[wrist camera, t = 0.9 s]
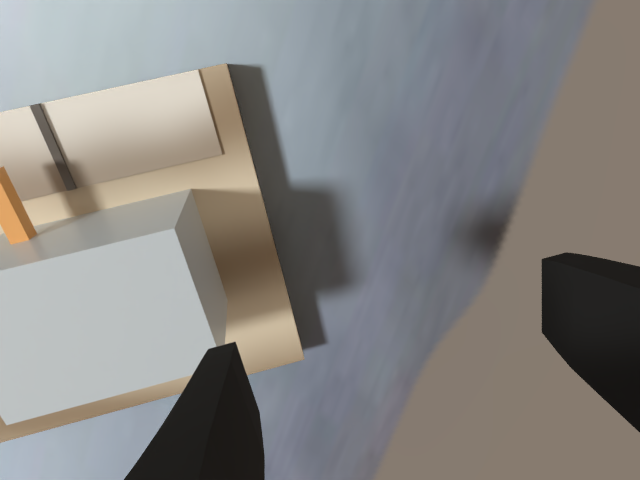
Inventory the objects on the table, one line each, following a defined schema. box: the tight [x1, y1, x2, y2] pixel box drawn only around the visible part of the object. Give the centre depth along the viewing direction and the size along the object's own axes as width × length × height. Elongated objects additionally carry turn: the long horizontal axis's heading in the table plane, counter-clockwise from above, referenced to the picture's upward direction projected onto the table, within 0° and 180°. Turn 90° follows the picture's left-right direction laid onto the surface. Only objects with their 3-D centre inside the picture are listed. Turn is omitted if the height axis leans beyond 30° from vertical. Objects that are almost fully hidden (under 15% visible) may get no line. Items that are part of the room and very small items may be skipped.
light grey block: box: [0, 166, 228, 425], centre depth 15 cm, size 7×11×4 cm
